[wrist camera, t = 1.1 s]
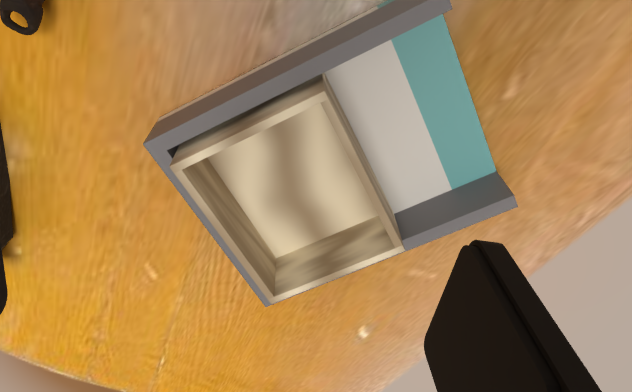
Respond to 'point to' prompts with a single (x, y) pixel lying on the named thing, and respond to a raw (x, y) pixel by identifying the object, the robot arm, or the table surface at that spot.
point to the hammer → (4, 198)
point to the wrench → (29, 6)
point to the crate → (291, 191)
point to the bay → (374, 118)
